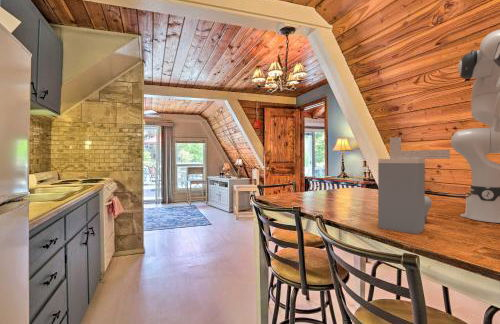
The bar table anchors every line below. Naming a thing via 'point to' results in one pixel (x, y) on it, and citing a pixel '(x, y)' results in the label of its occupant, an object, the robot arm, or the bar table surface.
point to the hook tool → (415, 152)
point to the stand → (401, 195)
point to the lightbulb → (427, 206)
